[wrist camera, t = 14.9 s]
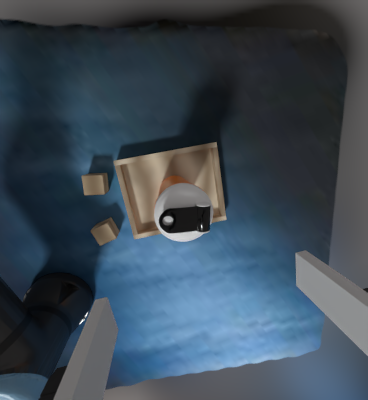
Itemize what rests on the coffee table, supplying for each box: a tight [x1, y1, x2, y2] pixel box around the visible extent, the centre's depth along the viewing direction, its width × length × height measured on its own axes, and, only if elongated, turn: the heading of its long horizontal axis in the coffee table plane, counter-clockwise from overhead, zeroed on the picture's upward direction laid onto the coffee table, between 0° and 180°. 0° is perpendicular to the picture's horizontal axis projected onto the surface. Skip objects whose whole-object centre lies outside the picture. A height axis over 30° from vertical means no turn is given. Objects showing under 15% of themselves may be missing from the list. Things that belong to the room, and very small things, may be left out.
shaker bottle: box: [154, 176, 213, 242], centre depth 36 cm, size 9×9×20 cm
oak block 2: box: [91, 217, 120, 246], centre depth 45 cm, size 4×4×4 cm
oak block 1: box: [82, 173, 109, 195], centre depth 42 cm, size 4×4×4 cm
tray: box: [114, 142, 226, 239], centre depth 45 cm, size 22×18×3 cm
